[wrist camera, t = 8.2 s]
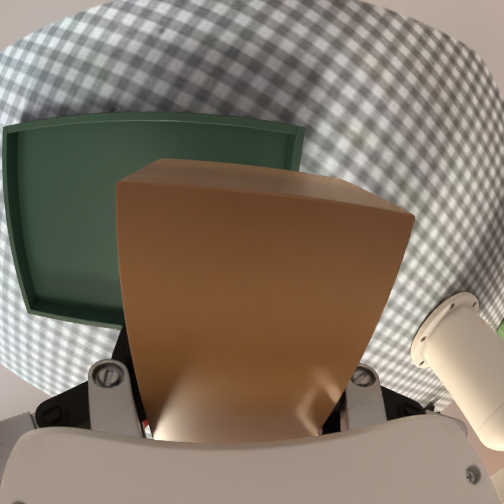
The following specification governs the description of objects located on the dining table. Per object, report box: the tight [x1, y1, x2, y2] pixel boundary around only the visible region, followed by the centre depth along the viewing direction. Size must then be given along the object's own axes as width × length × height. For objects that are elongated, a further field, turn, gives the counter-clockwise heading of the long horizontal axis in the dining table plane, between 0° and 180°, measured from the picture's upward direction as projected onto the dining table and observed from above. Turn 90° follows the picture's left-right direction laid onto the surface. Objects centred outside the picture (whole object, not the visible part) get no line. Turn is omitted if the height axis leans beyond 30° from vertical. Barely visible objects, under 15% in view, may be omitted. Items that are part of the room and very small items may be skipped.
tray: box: [2, 112, 305, 330], centre depth 19 cm, size 23×17×2 cm
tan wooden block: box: [116, 158, 415, 443], centre depth 9 cm, size 13×5×6 cm, turn 172°
